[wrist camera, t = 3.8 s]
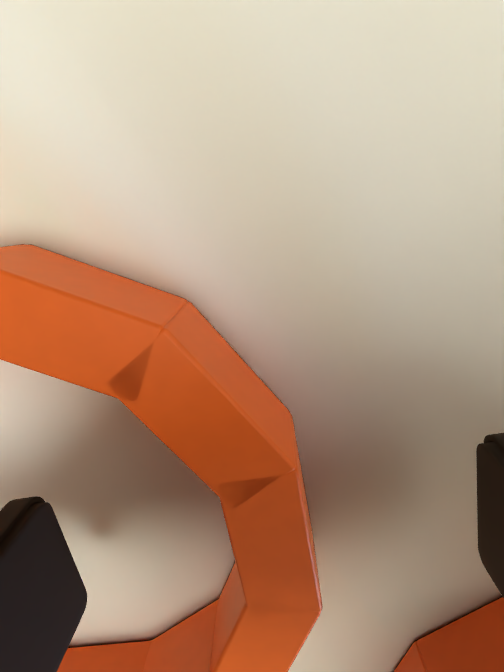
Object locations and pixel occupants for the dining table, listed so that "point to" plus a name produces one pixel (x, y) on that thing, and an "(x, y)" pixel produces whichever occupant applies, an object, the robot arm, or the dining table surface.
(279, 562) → the orange ring
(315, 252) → the dining table surface
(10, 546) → the robot arm
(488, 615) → the orange ring
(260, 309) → the dining table surface
